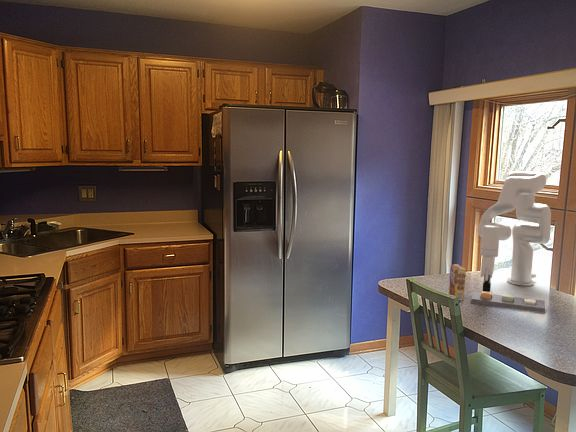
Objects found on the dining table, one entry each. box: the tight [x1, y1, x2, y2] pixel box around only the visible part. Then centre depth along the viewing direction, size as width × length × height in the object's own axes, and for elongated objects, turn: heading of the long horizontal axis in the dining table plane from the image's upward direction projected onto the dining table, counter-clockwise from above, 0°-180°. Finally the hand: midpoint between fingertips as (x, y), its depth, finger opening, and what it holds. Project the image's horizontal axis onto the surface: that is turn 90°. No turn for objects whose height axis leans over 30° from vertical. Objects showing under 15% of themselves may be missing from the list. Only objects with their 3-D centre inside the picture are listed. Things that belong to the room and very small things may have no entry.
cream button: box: [523, 297, 536, 305], centre depth 213 cm, size 4×4×2 cm
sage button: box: [502, 293, 514, 302], centre depth 217 cm, size 4×4×2 cm
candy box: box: [448, 263, 467, 302], centre depth 224 cm, size 9×4×15 cm, turn 2°
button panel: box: [470, 291, 546, 314], centre depth 217 cm, size 12×30×2 cm, turn 64°
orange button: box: [481, 290, 493, 299], centre depth 221 cm, size 4×4×2 cm
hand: (486, 291), depth 220 cm, fingers closed
